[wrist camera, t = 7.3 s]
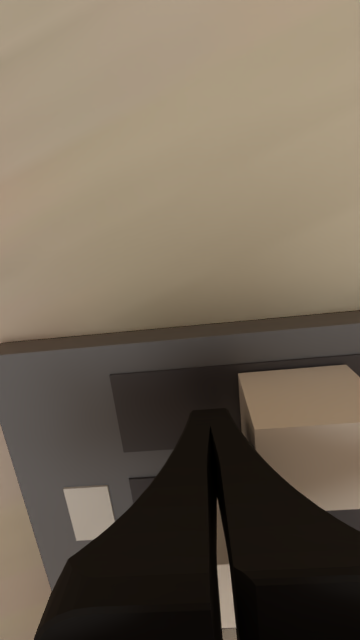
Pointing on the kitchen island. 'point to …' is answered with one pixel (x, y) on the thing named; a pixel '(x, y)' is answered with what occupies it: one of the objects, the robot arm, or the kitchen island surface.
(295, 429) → the cream squarish block
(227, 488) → the robot arm
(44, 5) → the kitchen island surface
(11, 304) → the kitchen island surface
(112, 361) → the switch bank
